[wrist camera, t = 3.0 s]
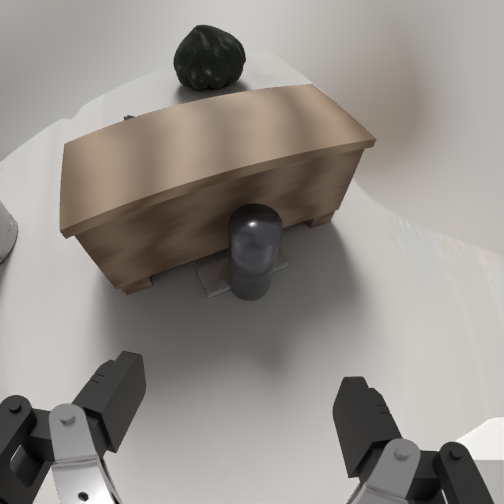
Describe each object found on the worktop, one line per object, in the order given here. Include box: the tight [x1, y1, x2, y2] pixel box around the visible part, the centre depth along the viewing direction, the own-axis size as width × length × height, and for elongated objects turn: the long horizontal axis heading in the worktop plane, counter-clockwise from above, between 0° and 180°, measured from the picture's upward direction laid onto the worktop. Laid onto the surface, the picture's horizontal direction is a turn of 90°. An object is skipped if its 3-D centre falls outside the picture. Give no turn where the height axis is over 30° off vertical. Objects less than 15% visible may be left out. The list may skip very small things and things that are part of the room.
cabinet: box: [60, 84, 376, 295], centre depth 28 cm, size 27×11×13 cm, turn 115°
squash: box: [174, 25, 246, 90], centre depth 47 cm, size 14×15×15 cm
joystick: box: [193, 203, 289, 300], centre depth 27 cm, size 9×12×10 cm
